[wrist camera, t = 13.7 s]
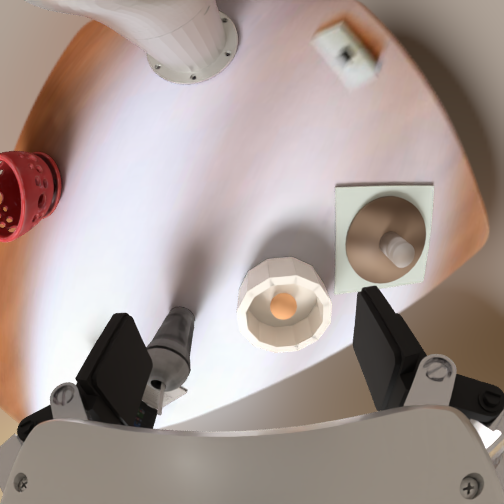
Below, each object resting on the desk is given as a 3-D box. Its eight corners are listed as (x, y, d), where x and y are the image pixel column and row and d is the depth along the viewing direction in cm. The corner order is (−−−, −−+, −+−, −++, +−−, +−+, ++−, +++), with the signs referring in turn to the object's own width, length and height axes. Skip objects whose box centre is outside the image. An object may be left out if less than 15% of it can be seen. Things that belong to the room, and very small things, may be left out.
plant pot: (55, 233, 40) (13, 260, 29) (14, 194, 37) (-29, 212, 26) (81, 169, 36) (32, 184, 25) (35, 132, 33) (-14, 138, 22)
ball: (268, 289, 42) (269, 303, 39) (294, 286, 42) (298, 300, 39) (270, 310, 44) (271, 326, 40) (295, 308, 44) (298, 323, 40)
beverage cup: (161, 296, 44) (117, 386, 26) (204, 304, 45) (179, 402, 26) (161, 329, 47) (125, 418, 29) (200, 337, 48) (179, 432, 29)
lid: (345, 197, 37) (360, 208, 32) (425, 195, 37) (447, 204, 31) (343, 285, 43) (354, 305, 37) (417, 275, 42) (434, 292, 37)
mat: (334, 187, 37) (335, 187, 37) (432, 185, 37) (433, 185, 36) (333, 293, 44) (334, 294, 43) (421, 280, 43) (422, 282, 43)
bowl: (234, 261, 42) (232, 280, 36) (323, 253, 41) (333, 271, 36) (244, 331, 47) (243, 355, 41) (321, 324, 46) (328, 346, 41)
